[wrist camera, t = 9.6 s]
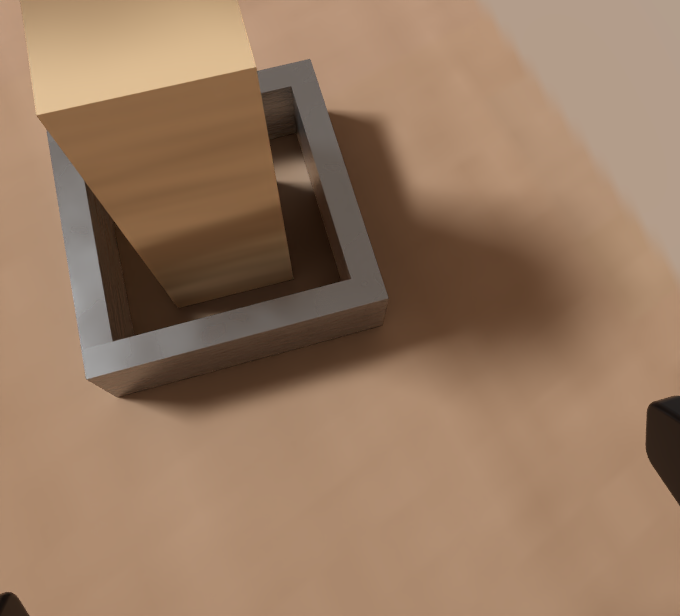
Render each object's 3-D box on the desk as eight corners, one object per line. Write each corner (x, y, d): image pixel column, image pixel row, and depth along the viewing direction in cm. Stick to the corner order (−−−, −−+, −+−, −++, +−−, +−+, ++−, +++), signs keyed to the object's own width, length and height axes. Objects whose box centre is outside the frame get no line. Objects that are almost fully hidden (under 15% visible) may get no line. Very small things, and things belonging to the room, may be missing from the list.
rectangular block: (293, 279, 24) (256, 67, 13) (177, 308, 24) (36, 115, 13) (266, 179, 26) (212, -91, 15) (157, 205, 25) (12, -52, 14)
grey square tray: (382, 325, 24) (388, 298, 21) (117, 397, 23) (85, 379, 20) (312, 107, 27) (310, 58, 24) (76, 163, 26) (44, 119, 23)
